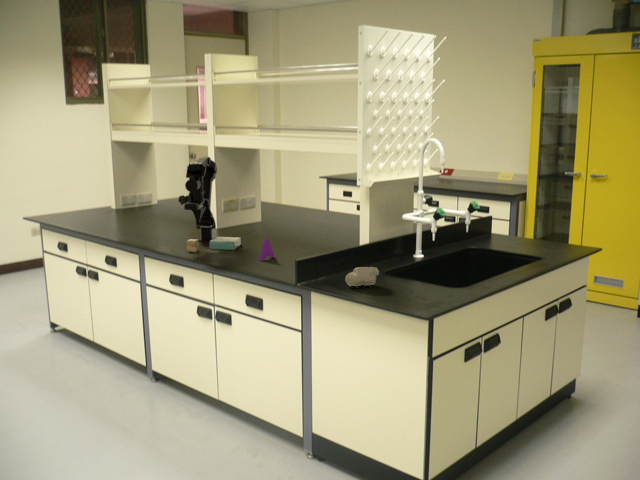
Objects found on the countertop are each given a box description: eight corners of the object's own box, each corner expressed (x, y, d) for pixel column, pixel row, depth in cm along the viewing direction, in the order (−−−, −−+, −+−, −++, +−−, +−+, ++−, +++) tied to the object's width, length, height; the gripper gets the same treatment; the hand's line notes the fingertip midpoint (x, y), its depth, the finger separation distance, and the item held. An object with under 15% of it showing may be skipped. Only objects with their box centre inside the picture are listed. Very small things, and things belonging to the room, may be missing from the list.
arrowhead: (265, 268, 266) (276, 250, 270) (268, 269, 265) (279, 251, 269) (254, 256, 259) (265, 237, 263) (256, 256, 258) (268, 237, 262)
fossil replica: (340, 286, 225) (357, 294, 217) (340, 265, 222) (357, 273, 215) (365, 278, 232) (382, 286, 224) (365, 258, 229) (383, 265, 221)
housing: (217, 243, 296) (216, 236, 295) (240, 244, 294) (240, 237, 293) (210, 248, 286) (210, 240, 286) (234, 249, 284) (234, 241, 284)
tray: (216, 244, 295) (216, 237, 294) (239, 245, 293) (239, 238, 292) (209, 248, 285) (209, 242, 284) (233, 249, 283) (233, 243, 283)
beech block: (190, 249, 283) (189, 239, 282) (198, 249, 282) (198, 239, 281) (187, 251, 279) (186, 240, 278) (195, 251, 278) (194, 241, 277)
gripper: (188, 186, 293) (189, 218, 296) (172, 191, 275) (174, 225, 278) (210, 187, 291) (211, 219, 294) (196, 192, 273) (197, 226, 276)
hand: (198, 222), depth 286 cm, fingers closed
